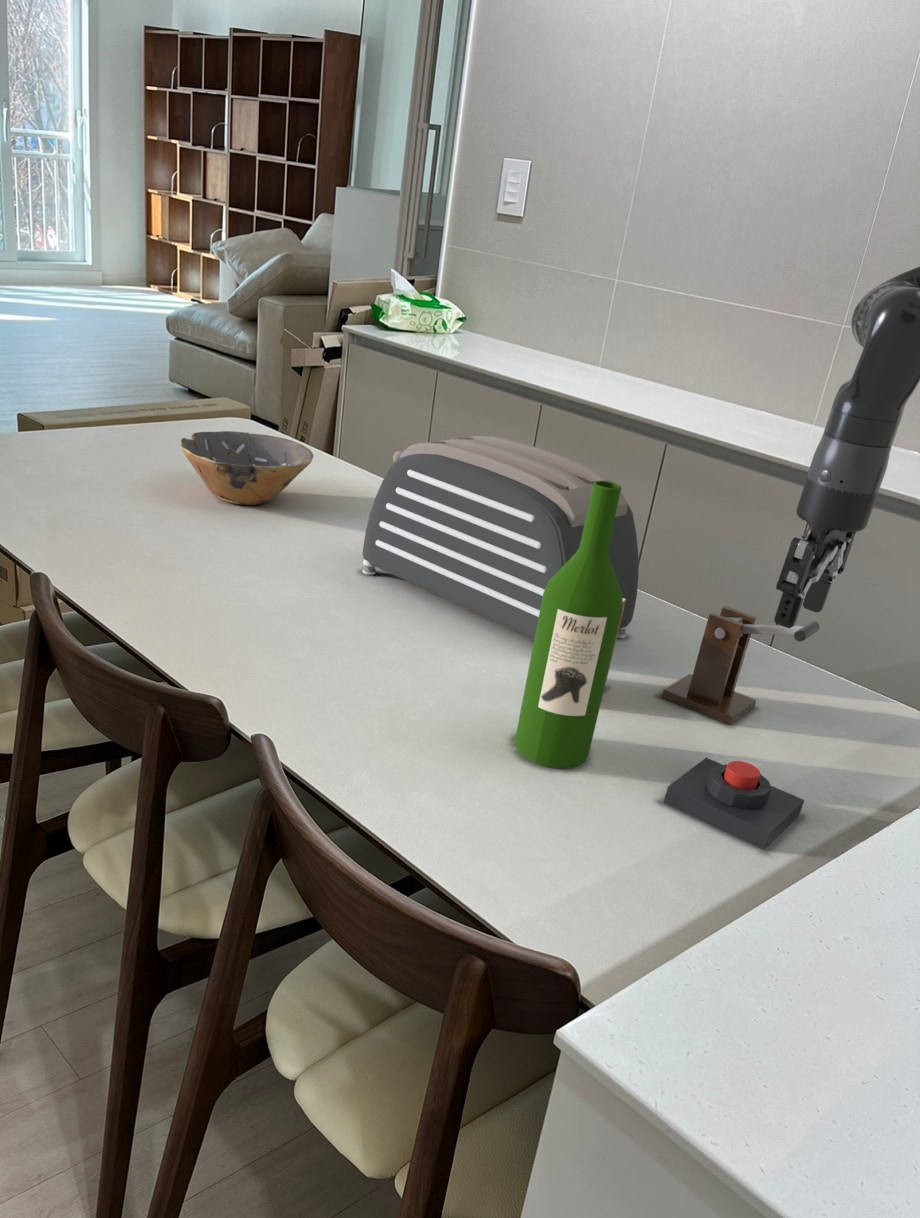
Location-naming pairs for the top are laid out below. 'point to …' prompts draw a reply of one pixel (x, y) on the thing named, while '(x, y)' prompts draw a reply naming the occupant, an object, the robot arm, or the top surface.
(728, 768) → the button
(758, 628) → the lever
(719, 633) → the bracket
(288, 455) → the bowl
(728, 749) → the top surface
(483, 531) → the toaster
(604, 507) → the wine bottle
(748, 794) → the control block
